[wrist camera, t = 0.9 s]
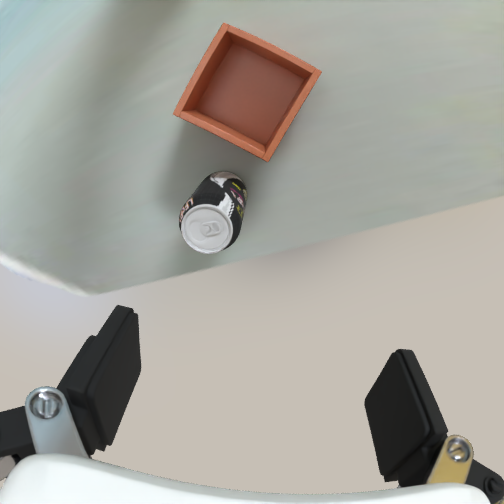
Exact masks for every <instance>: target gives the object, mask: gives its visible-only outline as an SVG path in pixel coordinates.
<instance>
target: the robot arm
mask: <svg viewBox="0 0 504 504" xmlns="http://www.w3.org/2000/svg"><path fill="white" fill-rule="evenodd" d="M140 358H141V357H140V344H139V324H138V314H136V313H134V310H133V309H132V308H129V307H124V306H120V305H117V306H116V307H115V309H114V310H113V312H112V313H111V315H110V316H109V318H108V319H107V321H106V322H105V324H104V325H103V327H102V328H101V330H100V331H99V333H98V335H97V336H93V335H92V336H90V337H89V338H88V339H87V340H86V342H85V343H84V345H83V346H82V348H81V349H80V351H79V353H78V354H77V356H76V357H75V359H74V360H73V362H72V364H71V365H70V367H69V369H68V370H67V372H66V373H65V375H64V377H63V378H62V380H61V381H60V383H59V385H58V386H57V388H53V387H49V386H45V387H39V388H36V389H34V390H33V391H32V392H30V394H29V395H28V396H27V398H26V401H25V406H22V407H18V408H15V409H11V410H7V411H3V412H0V481H1V480H3V479H4V478H6V480H5V482H4V484H3V486H2V487H1V489H0V504H504V480H503V479H502V477H501V476H499V475H498V474H497V473H495V472H493V471H492V470H490V469H488V468H487V467H485V466H484V465H482V464H480V463H479V462H477V461H475V460H474V459H473V455H474V451H473V447H472V445H471V443H470V442H469V441H468V440H467V439H466V438H464V437H463V436H460V435H451V436H449V437H448V436H447V434H446V433H447V432H448V429H447V427H446V424H445V422H444V419H443V417H442V414H441V412H440V410H439V407H438V405H437V402H436V400H435V398H434V396H433V393H432V391H431V389H430V386H429V384H428V382H427V380H426V378H425V375H424V373H423V371H422V369H421V367H420V365H419V363H418V361H417V359H416V356H415V354H414V352H413V351H412V350H406V349H398V350H396V352H394V353H392V354H391V356H390V357H389V359H388V361H387V363H386V365H385V367H384V368H383V370H382V372H381V373H380V375H379V377H378V378H377V380H376V382H375V383H374V385H373V387H372V388H371V390H370V391H369V393H368V395H367V397H366V398H365V409H366V413H367V417H368V421H369V426H370V430H371V434H372V438H373V443H374V447H375V451H376V456H377V461H378V466H379V470H380V473H381V475H383V476H384V480H385V482H390V481H397V480H398V482H399V486H398V487H397V488H396V489H388V490H379V491H370V492H358V493H341V494H279V493H261V492H250V491H240V490H231V489H223V488H216V487H210V486H203V485H197V484H192V483H186V482H181V481H177V480H172V479H167V478H162V477H158V476H154V475H150V474H145V473H142V472H138V471H134V470H130V469H127V468H123V467H120V466H116V465H112V464H109V463H105V462H101V461H97V460H94V459H92V457H91V455H93V454H94V452H95V450H96V449H98V450H101V451H105V448H106V445H109V446H110V445H112V443H113V440H114V438H115V435H116V433H117V430H118V427H119V425H120V422H121V420H122V417H123V415H124V412H125V409H126V407H127V404H128V402H129V399H130V397H131V395H132V392H133V390H134V387H135V385H136V382H137V380H138V377H139V375H140V372H141V359H140Z"/></svg>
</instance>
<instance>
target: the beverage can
mask: <svg viewBox="0 0 504 504" xmlns="http://www.w3.org/2000/svg"><path fill="white" fill-rule="evenodd" d="M246 201H247V190H246V187H245V185H244V183H243V181H242V180H241V179H240V178H239V177H238V176H236V175H235V174H232V173H230V172H225V171H220V172H215V173H213V174H211V175H209V176H208V177H206V178H205V179H204V181H203V182H202V183H201V184H200V185H199V187H198V188H197V189H196V190H195V192H194V193H193V194H192V195H191V197H190V198H189V199H188V200H187V202H186V203H185V204H184V206H183V208H182V210H181V212H180V217H179V227H180V230H181V233H182V236H183V238H184V240H185V242H186V243H187V244H188V245H189V246H190V247H191V248H192V249H194V250H195V251H198V252H200V253H205V254H211V253H216V252H219V251H222V250H224V249H226V248H228V247H229V246H231V245H232V244H233V243H234V242H235V240H236V239H237V238H238V235H239V233H240V230H241V225H242V220H243V215H244V210H245V205H246Z"/></svg>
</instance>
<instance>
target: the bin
mask: <svg viewBox="0 0 504 504" xmlns="http://www.w3.org/2000/svg"><path fill="white" fill-rule="evenodd" d="M321 73H322V72H321V71H320V70H318V69H317V68H316V69H315V67H313V66H311V65H310V64H308V63H306V62H304V61H303V60H301V59H299V58H297V57H295V56H293V55H292V54H290V53H288V52H286V51H284V50H282V49H280V48H278V47H276V46H274V45H272V44H270V43H268V42H266V41H264V40H262V39H260V38H258V37H256V36H254V35H251V34H249V33H247V32H245V31H243V30H240V29H238V28H236V27H233V26H231V25H229V24H226V23H223V24H222V26H221V28H220V29H219V31H218V32H217V34H216V36H215V37H214V39H213V41H212V42H211V44H210V46H209V47H208V49H207V51H206V53H205V54H204V56H203V58H202V60H201V61H200V63H199V65H198V67H197V68H196V70H195V72H194V74H193V76H192V78H191V79H190V81H189V83H188V85H187V87H186V89H185V91H184V93H183V95H182V97H181V99H180V100H179V102H178V104H177V106H176V108H175V110H174V112H173V115H175V116H177V117H180V118H182V119H184V120H186V121H188V122H190V123H192V124H194V125H196V126H199V127H201V128H203V129H205V130H207V131H209V132H211V133H213V134H215V135H217V136H219V137H221V138H223V139H225V140H227V141H229V142H231V143H233V144H234V145H236V146H238V147H240V148H242V149H244V150H246V151H248V152H250V153H252V154H253V155H255V156H257V157H259V158H262V159H263V160H265V161H266V162H268V161H269V160H270V158H271V156H272V155H273V153H274V151H275V149H276V148H277V146H278V144H279V143H280V141H281V139H282V138H283V136H284V134H285V132H286V131H287V129H288V127H289V126H290V124H291V122H292V121H293V119H294V117H295V116H296V114H297V112H298V111H299V109H300V107H301V106H302V104H303V102H304V101H305V99H306V97H307V96H308V94H309V92H310V91H311V89H312V88H313V86H314V84H315V83H316V81H317V79H318V78H319V76H320V74H321Z"/></svg>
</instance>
